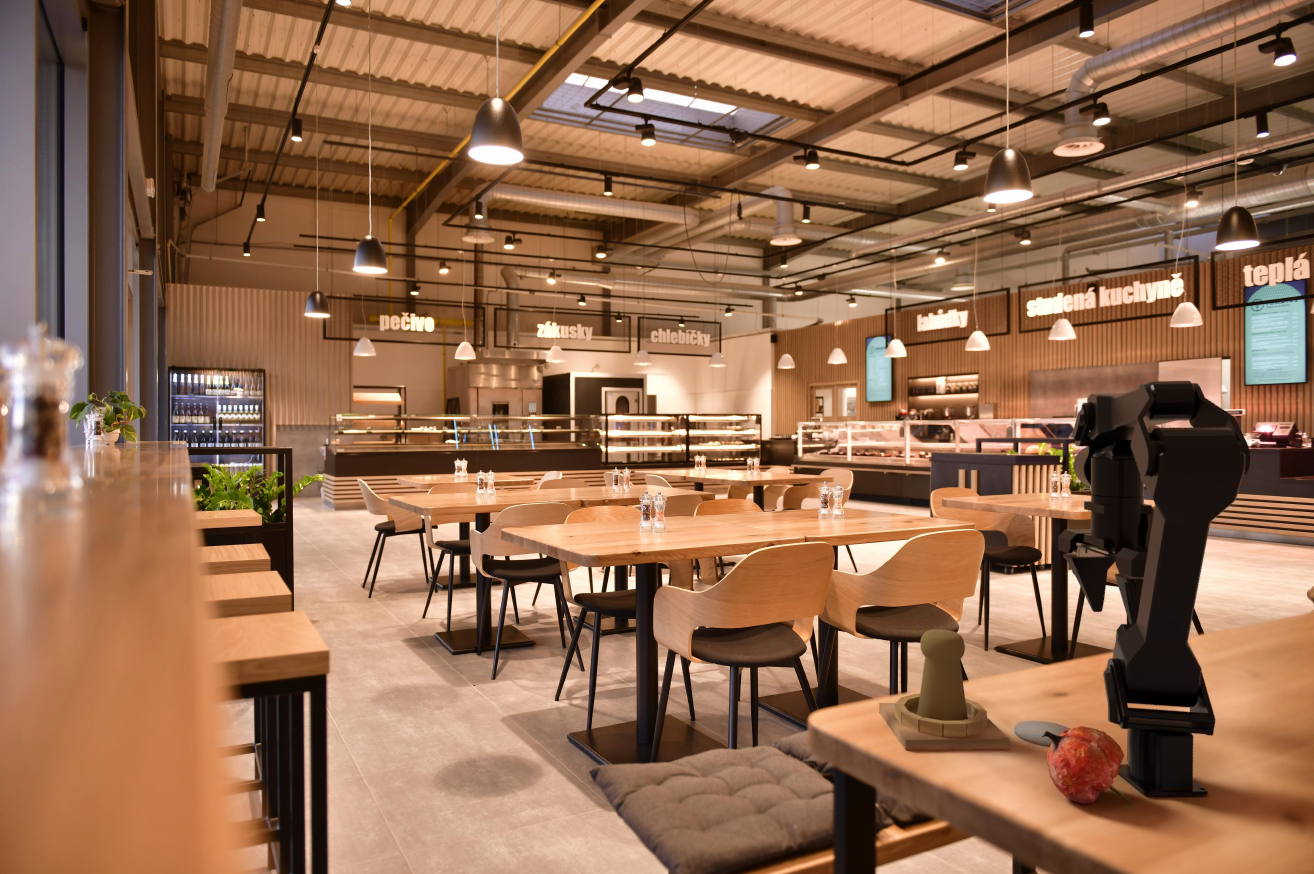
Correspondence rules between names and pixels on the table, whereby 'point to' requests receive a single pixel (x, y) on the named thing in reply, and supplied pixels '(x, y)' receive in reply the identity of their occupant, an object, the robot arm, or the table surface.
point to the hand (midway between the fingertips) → (1116, 620)
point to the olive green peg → (942, 676)
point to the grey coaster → (1038, 731)
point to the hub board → (942, 742)
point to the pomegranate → (1083, 763)
